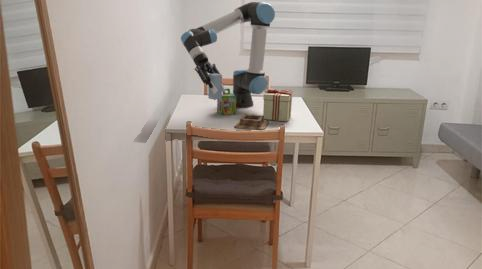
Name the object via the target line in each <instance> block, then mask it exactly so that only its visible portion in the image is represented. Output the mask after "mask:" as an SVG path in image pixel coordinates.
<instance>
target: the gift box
mask: <svg viewBox="0 0 482 269" xmlns="http://www.w3.org/2000/svg"><path fill="white" fill-rule="evenodd" d="M264 92H265V93H264V94H263V98H262V99H263V111H262V112H263V115H262V116H264V120H265V121H277V122H279V121H280V122H288V121H289V119H290V118H291V117H292V104H293V103H292V102H293V96H294V91H292V90H291V89H288V88H287V89H282V90H278V89H276V88H270V87H269V88H268V87H267V88H266V90H265V91H264Z"/></svg>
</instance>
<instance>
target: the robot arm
mask: <svg viewBox="0 0 482 269" xmlns="http://www.w3.org/2000/svg"><path fill="white" fill-rule="evenodd" d="M275 12H276V11H275V9H274V6H272V4H270V3H268V2H264V1H262V2H261V1H251V2H248V3H245V4H242V5H241V6H239V7H236V8H235V9H234V10H233V11H231V12H230V13H227V14H225V15H223V16H221V17H219V18H217V19H215V20H212V21H210V22H208V23H205V24H203V25H202V26H199V27H196V28H190V29H188V31H186V32H184V33H182V35H181V36H180V41H181V43H182V45H183V46H184V48H185V50H186V51H187V53H188V54H189V56H190V58H191V59H192V61H193V63H194V64H195V68H194V71H195V72H196V74H198V76H199V78H200V79H201V82H202V83H203V84H205V85H206V86H207V85H208V86H209V87H210V88H211V89H212V91H213V93H214V94H216V92H217V91H218V90H217V89H216V87H215V85H214V84H213V82H212V81H210V78H209V76H208V74H213V73H217V74H221V72H220V71H219V70H218V68H217V66H216V63H213V64H212V63H211V62H209V58H208V56H207V55H206V53H205V50H204V49H203V47H205V46H208V45H212V44H214V43H216V42H217V41H218V35H217V34H219V33H221V32H224V31H225V30H227V29H229V28H232V27H233V26H236V25H238V24H240V25H242V24H244V23H248V22H249V23H250V27H252V28H251V30H252V31H251V40H250V41H251V43H250V51H249V52H250V54H249V63H248V68H247V69H236V70H234V71H233V76H232V94H234V95H235V96H236V108H251V107H253V106H254V101H253V97H252V94H253V95H261V94H262V93H263V92H264V91H265V90H267V89H268V84H269V83H268V79H267V78H266V77H265V76H266V72H265V71H264V62H265V61H264V60H265V52H266V43H267V30H268V29H269V28H270V26H271V23H272V22H273V21H274V19H275V17H276V13H275ZM225 89H226V87H225V85H224V84H223V82H222V93H223V92H224V91H225ZM225 92H226V91H225Z"/></svg>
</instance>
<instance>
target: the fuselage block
mask: <svg viewBox="0 0 482 269" xmlns="http://www.w3.org/2000/svg"><path fill="white" fill-rule="evenodd" d="M208 76H209V78H210V81H212V82H213V84H214V85H215V87H216V89H217V90H218V91H217V92H216V94H214V93H213V91H212V89H211V88H210V87H209V86H208V87H207V88H208V90H207V92H208V97H207V98H208V99H210V100H214V101H217V99H221V98H222V93H223V92H222V83H223V76H222V74H221V73H220V74H217V73H213V74H210V73H208Z"/></svg>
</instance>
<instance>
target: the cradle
mask: <svg viewBox="0 0 482 269" xmlns="http://www.w3.org/2000/svg"><path fill="white" fill-rule="evenodd" d="M269 122H270V120H265V119H264V116H263V115H259V114H258V115H257V114H247V113H244V114H243V115H242V116H241V117H240V119H239V121H237V123H236V124H234V128H235V129H240V130H241V129H243V130H255V131H262V130H266V127H267V126H268V125H269Z"/></svg>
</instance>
